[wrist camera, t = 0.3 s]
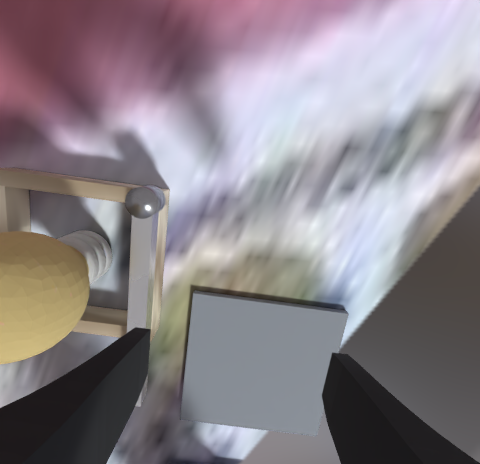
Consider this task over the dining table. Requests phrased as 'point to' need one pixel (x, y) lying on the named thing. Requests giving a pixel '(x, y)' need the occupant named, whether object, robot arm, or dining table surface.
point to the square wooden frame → (21, 181)
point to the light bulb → (45, 287)
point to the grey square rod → (142, 257)
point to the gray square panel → (258, 362)
